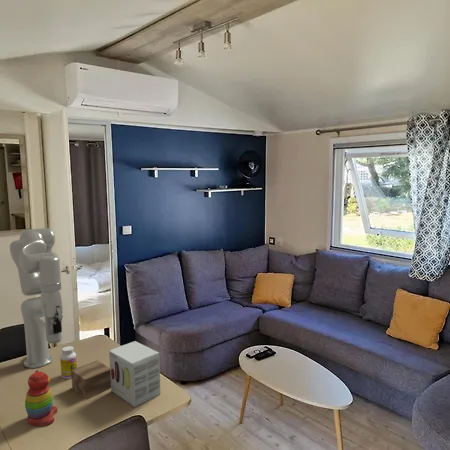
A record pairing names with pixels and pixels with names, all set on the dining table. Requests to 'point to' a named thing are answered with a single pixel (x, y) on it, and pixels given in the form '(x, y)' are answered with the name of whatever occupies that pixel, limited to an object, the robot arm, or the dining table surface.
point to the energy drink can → (51, 330)
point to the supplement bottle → (68, 362)
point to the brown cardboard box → (91, 379)
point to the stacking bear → (39, 400)
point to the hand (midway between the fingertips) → (53, 330)
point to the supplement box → (135, 373)
